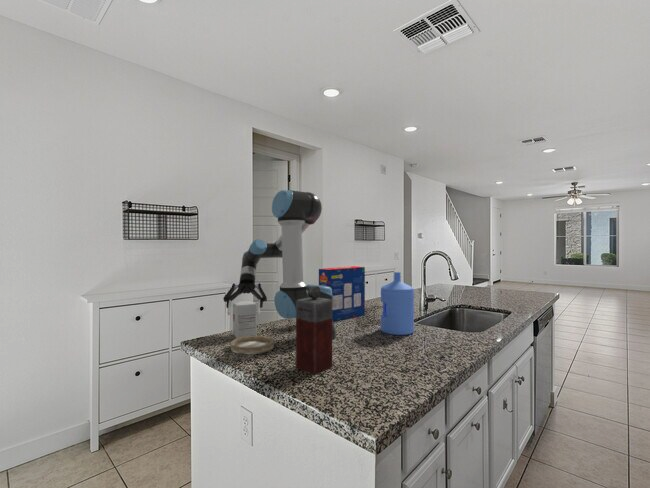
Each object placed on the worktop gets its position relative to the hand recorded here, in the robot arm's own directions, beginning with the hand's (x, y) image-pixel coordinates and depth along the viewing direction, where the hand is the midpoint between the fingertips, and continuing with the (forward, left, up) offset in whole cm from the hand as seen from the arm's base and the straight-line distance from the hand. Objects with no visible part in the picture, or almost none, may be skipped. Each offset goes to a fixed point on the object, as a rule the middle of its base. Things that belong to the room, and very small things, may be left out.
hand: (243, 313), depth 160 cm
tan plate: (-11, +18, -10) cm, 23 cm away
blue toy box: (-41, -41, -10) cm, 59 cm away
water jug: (-70, -17, -10) cm, 73 cm away
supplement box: (-1, +2, -10) cm, 10 cm away
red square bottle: (-39, +35, -10) cm, 54 cm away
